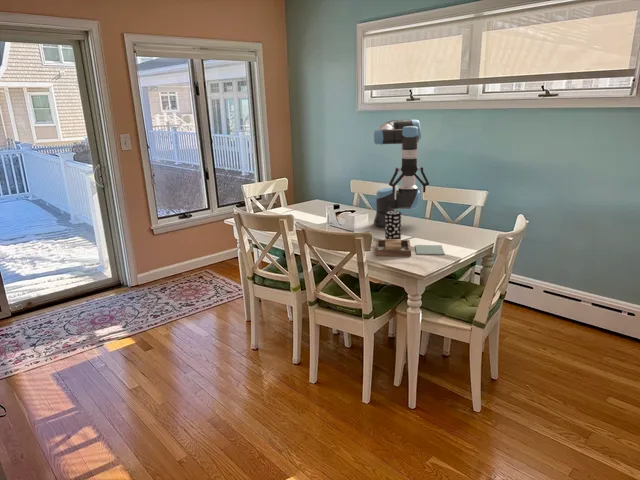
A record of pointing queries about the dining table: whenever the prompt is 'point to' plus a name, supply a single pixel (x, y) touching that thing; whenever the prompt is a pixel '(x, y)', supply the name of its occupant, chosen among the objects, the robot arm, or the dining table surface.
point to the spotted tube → (392, 225)
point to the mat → (429, 250)
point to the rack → (393, 252)
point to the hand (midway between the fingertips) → (408, 198)
